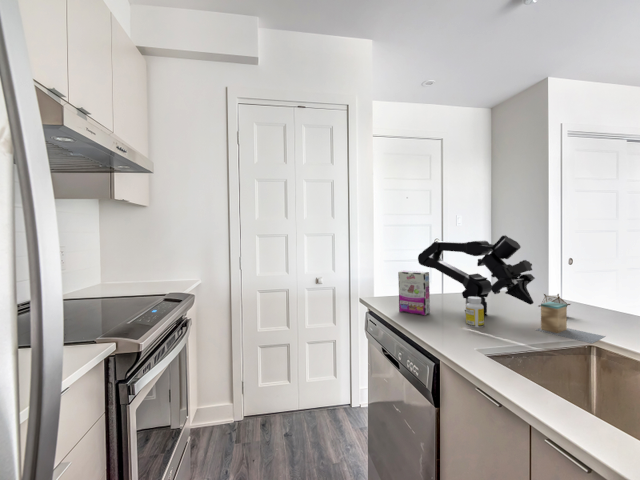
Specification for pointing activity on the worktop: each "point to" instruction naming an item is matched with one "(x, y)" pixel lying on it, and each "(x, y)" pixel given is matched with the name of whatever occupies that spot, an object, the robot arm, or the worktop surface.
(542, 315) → the oak block
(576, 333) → the mat
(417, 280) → the candy bar box
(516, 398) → the worktop surface
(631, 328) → the worktop surface
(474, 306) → the supplement bottle
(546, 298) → the game die
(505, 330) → the worktop surface
